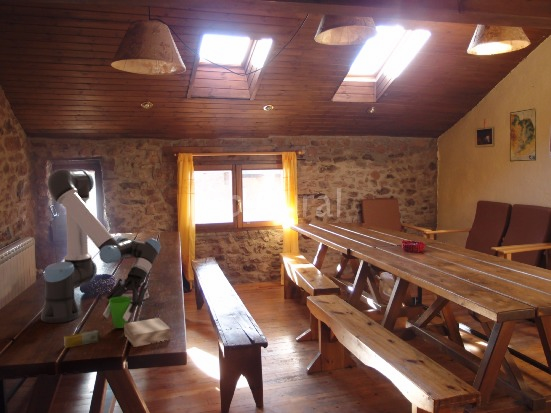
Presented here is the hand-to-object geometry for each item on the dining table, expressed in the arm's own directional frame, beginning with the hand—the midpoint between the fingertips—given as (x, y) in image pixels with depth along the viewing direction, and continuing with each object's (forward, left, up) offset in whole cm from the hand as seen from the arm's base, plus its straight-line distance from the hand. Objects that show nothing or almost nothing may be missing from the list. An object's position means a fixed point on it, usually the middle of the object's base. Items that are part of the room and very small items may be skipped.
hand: (115, 317), depth 188 cm
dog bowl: (+20, +42, -6) cm, 47 cm away
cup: (+3, +2, -5) cm, 6 cm away
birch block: (+9, -13, -6) cm, 17 cm away
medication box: (-14, -6, -6) cm, 17 cm away
